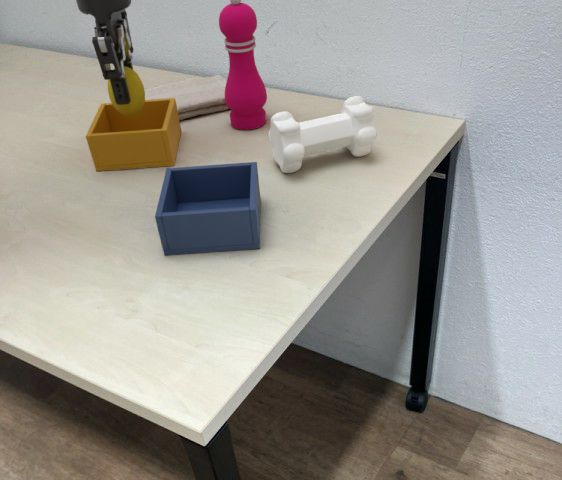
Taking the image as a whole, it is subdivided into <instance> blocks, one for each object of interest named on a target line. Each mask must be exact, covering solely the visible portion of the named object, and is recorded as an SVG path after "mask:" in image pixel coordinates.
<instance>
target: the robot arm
mask: <svg viewBox="0 0 562 480" xmlns="http://www.w3.org/2000/svg"><path fill="white" fill-rule="evenodd" d="M75 1H76V2H75V3H76V5H77V9H78V11H79V12H80V13H82V14H84V15H87V16H89V15H90V16H92V17H94V23H95V26H94V27H93V31H94V36H92V39H91V43H92V45H93V49H94V52H95V54H96V57H97V62H98V64H99V67H100V71H101V73H102V77H103V79H104V80H105V81H108V80H110V82H111V86H112V90H113V94H114V98H115V102H116V104H118V105H124V104H129V103H130V101H131V99H130V95H129V91H128V86H127V82H126V78H125V72H124V66H125V67H129V68H131V69H132V70H134V66H133V59H134V56H133V55H132V54H133V53H134V47H133V41H132V36H131V31H130V25H129V21H128V13H127V10H126V9H128V8H129V7H130V6H131V4H132V0H75ZM111 65H113V68H114V69H115V70H114V69H112V68H111V67H112V66H111Z"/></svg>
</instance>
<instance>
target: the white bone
mask: <svg viewBox="0 0 562 480" xmlns="http://www.w3.org/2000/svg"><path fill="white" fill-rule="evenodd" d="M376 128H377V127H376V121H375V117H374V107H372V106H371V105H369V104H367V103H366V102H365V99H364V98H363V97H362V96H359V95H354V96H350V97H348V98H347V99H345V100H344V102H343V104H342V107H341V112H340V113H337V114H332V115H327V116H322V117H318V118H313V119H309V120H304V121H300V122H297V121H296V119H295V118H294V117H293V115H292V114H291V113H290V112H289V111H286V110H285V111H279V112H276V113H274V114H273V115H272V116H271V118H270V129H269V130H268V138H269V141H270V146H271V150H272V159H273V161H274V162H275V163H277V165H278V166H279V168H280V171H281V172H282V173H284V174H293V173H296V172H297V171H298V170H300V169H301V168H302V164H303V159H304V157H305V156H311V155H314V154H319V153H323V152H327V151H332V150H336V149H340V148H341V149H342V148H345V147H346V148H347V149H348V150H349V151H350V154H351V155H352V156H353V157H357V158H359V157H364V156H367V155H368V154H369V153H370V152H371V151H372V148H373V144H374V142H375V141H376V140H377V138H378V131H377V129H376Z"/></svg>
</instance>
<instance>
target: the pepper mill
mask: <svg viewBox="0 0 562 480" xmlns="http://www.w3.org/2000/svg"><path fill="white" fill-rule="evenodd" d="M229 2H230V3H229V4H227V5H225V6H224V7H223V8H222V9H221V10H220V13H219V16H218V26H219V30H220V32H221V34H222V35H223V36H224V37H225V38H224V39H223V42H224V45H225V46H224V49H225V51H227V54H228V59H229V68H228V75H227V83H226V86H225V103H226V105H227V106H228V107H229V109H228V110H230V113H229V120H230V126H231V127H232V128H234V129H237V130H240V131H241V130H242V131H249V130H256V129H258V128H261V127H263V126H264V125H265V124H266V122H267V114H266V110H265V108H264V106H265V105H266V103H267V100H268V94H267V88H266V86H265V83H264V81H263V79H262V77H261V75H260V72H259V71H258V67H257V64H256V60H255V48H256V47H257V43H256V37H255V36H254V34H255V32H256V30H257V28H258V19H257V15H256V13H255V10H254V9H253V8H252V7H251V6H250V5H249V4H247V3H245V2H242V0H229Z"/></svg>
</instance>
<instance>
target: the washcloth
mask: <svg viewBox="0 0 562 480" xmlns="http://www.w3.org/2000/svg"><path fill="white" fill-rule="evenodd" d="M227 79H228V77H224V76H222V75H221V74H215V75H212V76H208V77H196V76H192V77H189V78H187V79H184V80H181V81H174V82H169V83H163V84H161V85H157V86H152V87H148V88H144V90H145V100H153V99H166V98H170V99H171V98H175V100H176V105H177V111H178V116H179V121H182V120H185V119H189V118H192V117H196V116H199V115H200V116H201V115H207V114H213V113H217V112H223V111H226V110H230V109H229V107H228V106H227V105H226V103H225V86H226V83H227Z"/></svg>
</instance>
